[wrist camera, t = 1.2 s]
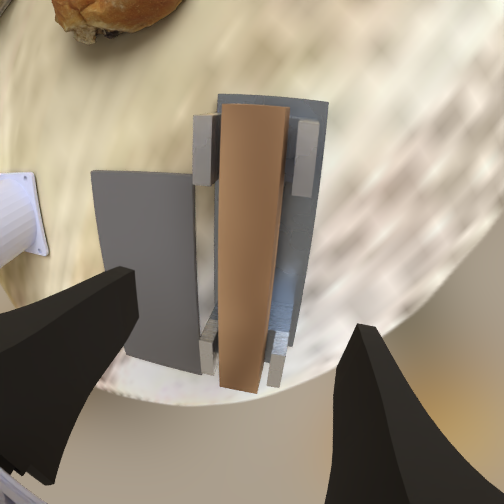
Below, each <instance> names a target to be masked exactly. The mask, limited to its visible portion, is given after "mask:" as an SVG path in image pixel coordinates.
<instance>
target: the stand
mask: <svg viewBox="0 0 504 504" xmlns="http://www.w3.org/2000/svg"><path fill="white" fill-rule="evenodd" d="M222 104H254V105H269V106H281V107H290V117H289V129H288V141H287V152H286V164H285V175H284V185H283V196H282V206H281V216H280V226H279V236H278V246H277V255H276V264H275V273H274V282H273V291H272V300H271V308H270V316H269V325H268V333H267V341H266V349H265V357H264V362H268V363H270V367H269V373H268V380H267V386H271V387H277V388H279V387H280V382H281V377H282V372H283V367H284V362H285V357H286V351H287V346H291V347H292V346H293V342H294V337H295V332H296V326H297V321H298V316H299V311H300V305H301V300H302V295H303V289H304V283H305V278H306V272H307V266H308V260H309V254H310V247H311V241H312V235H313V228H314V221H315V214H316V207H317V200H318V193H319V185H320V178H321V170H322V161H323V153H324V144H325V135H326V125H327V115H328V104H329V102H323V101H315V100H307V99H298V98H288V97H276V96H262V95H242V94H218V105H217V112H215V113H207V114H200V115H193V185H201V186H211V185H213V184H214V183H215V213H214V290H215V307H214V310H213V312H212V314H211V316H210V318H209V320H208V322H207V324H206V326H205V328H204V331H203V333H202V335H201V337H200V339H199V349H200V361H201V373H204V374H209V375H213V376H214V373H215V370H216V368H217V365H218V362H219V337H218V216H219V170H220V139H221V114H222Z"/></svg>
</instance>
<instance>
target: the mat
mask: <svg viewBox="0 0 504 504" xmlns="http://www.w3.org/2000/svg"><path fill="white" fill-rule="evenodd" d="M91 182H92V191H93V200H94V208H95V215H96V222H97V229H98V235H99V241H100V247H101V252H102V258H103V263H104V268H105V271H107V270H110V269H112V268H115V267H118V266H122V267H126V268H129V269H133V270H135V279H136V290H137V300H138V309H139V319H138V321H137V323H136V325H135V327H134V329H133V331H132V332H131V334H130V336H129V338H128V340H127V341H126V343H125V344H124V348H125V352H126V355H129V356H133V357H136V358H139V359H142V360H146V361H149V362H153V363H156V364H160V365H163V366H167V367H171V368H175V369H178V370H182V371H186V372H190V373H194V374H199V375H202V373H201V361H200V349H199V339H200V327H199V310H198V291H197V269H196V237H195V185H193V174H180V173H163V172H141V171H106V170H93V171H91Z"/></svg>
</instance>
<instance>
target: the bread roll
mask: <svg viewBox="0 0 504 504" xmlns="http://www.w3.org/2000/svg"><path fill="white" fill-rule="evenodd" d="M181 2H182V0H52V3H53V6H54V9H55V14H56V15H55V21H56V22H57V23H59V25H61V26H62V27H63V29H64V30H65V32H70V31H74V38H75V39H76V40H77V41H78V42H82V43H85V44H87V45H89V44H94V43H96V41H95V39H96V35H97V34H104V36H105V37H107V38H109V39H112V38H114V37H117V36H118V35H119V34H121V33H123V32H128V33H134V32H137V31H139V30H141V29H143V28H145V27H151V26H152V24H154V23H156V22H157V21H159V20H161V19H162V18H164V17H166V16H167V15H169V14H170V13H172V12H173V11H175V9H176V8H177V6H178V5H179V4H180V3H181Z"/></svg>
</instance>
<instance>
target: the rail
mask: <svg viewBox="0 0 504 504" xmlns="http://www.w3.org/2000/svg"><path fill="white" fill-rule="evenodd" d="M289 117H290V107H281V106H269V105H254V104H222V114H221V139H220V170H219V216H218V337H219V382H220V387H224V388H229V389H234V390H239V391H244V392H250V393H255V394H257V391H258V387H259V383H260V379H261V374H262V370H263V365H264V357H265V349H266V341H267V333H268V325H269V316H270V308H271V300H272V291H273V282H274V273H275V264H276V255H277V246H278V236H279V226H280V216H281V206H282V196H283V185H284V175H285V164H286V152H287V141H288V129H289Z"/></svg>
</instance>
